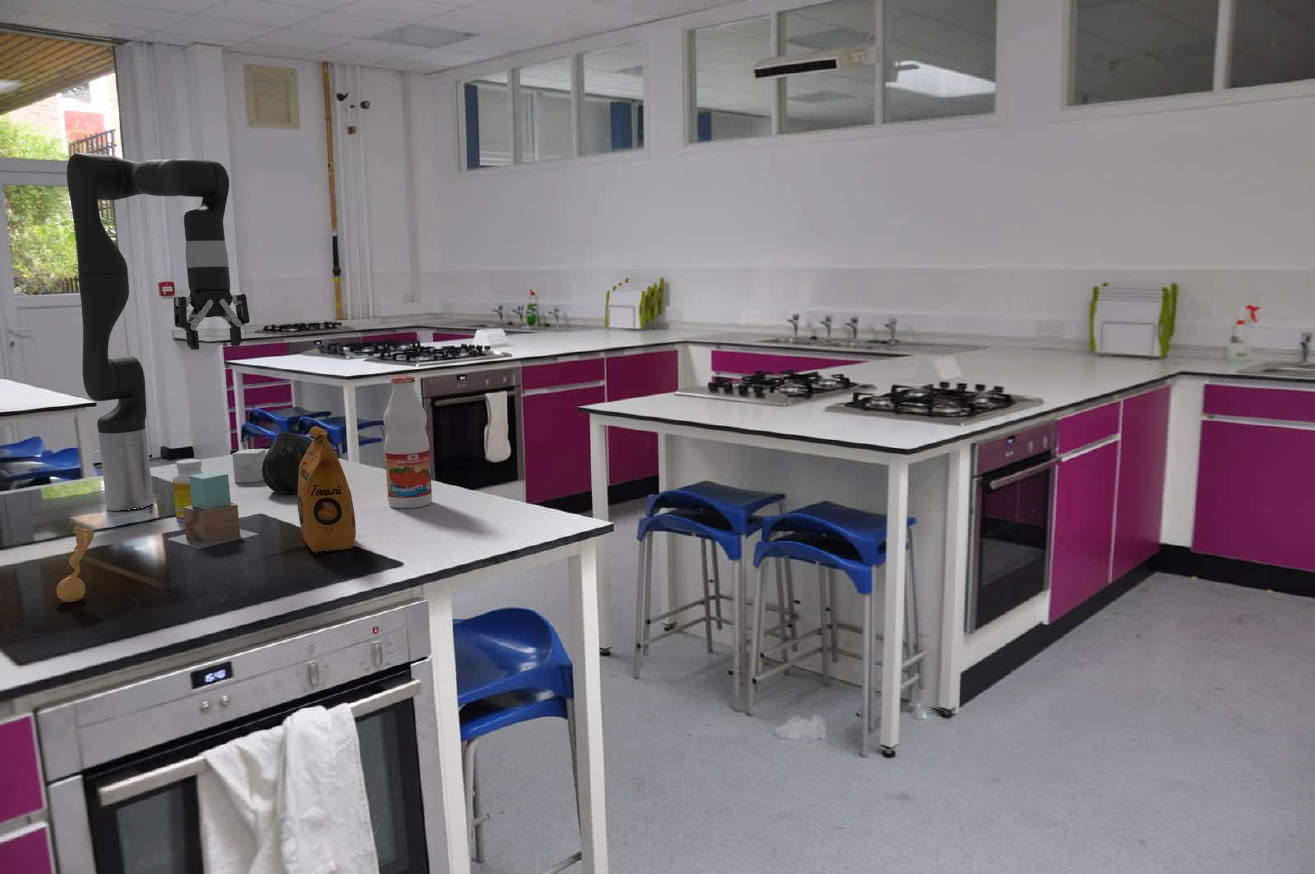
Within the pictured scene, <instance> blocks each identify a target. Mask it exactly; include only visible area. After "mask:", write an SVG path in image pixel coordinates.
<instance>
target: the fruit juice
mask: <svg viewBox="0 0 1315 874" xmlns="http://www.w3.org/2000/svg"><path fill="white" fill-rule="evenodd" d="M415 382H416V381H415V376H413V375H401V376H400V375H398V376H393V377H391V378H390V383H391V386H392V390H391V391H392V392H391V394H390V397H389V401H388V404H387V407H386V409H385V411H384V413H383V425H384V427H385V430H386V434H385V438H384V460H385V470H386V471H385V474H386V488H387V489H386V491H387V501H388V502H387V503H388V505H389V507H391V508H392V509H393V508H394V509H415V508H416V509H417V508H421V507H427V506H428V505H430V504H431V503H432V501H433V492H432V476H431V475H432V474H431V473H432V471H431V459H430V457H431V456H430V455H431V454H430V442H429V436H428V433H427V432H426V425H427V422H428V421H427V420H428V418H427V417H428V416H427V412H426V410H425V408H424V407H423V406H422V403H421V402H420V399H419V397H418V395H417V392H416V389H415V387H414V385H415Z"/></svg>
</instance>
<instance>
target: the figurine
mask: <svg viewBox="0 0 1315 874" xmlns="http://www.w3.org/2000/svg"><path fill="white" fill-rule="evenodd" d="M72 532H73V534H74V535H76V536H75V541H76V546H75V547H74V550H73V552H74V553H73V554H72V555H71V556H70V557H69V559H68V560H69V561H68V563H69V565H70V567H71V568H73V570H74V572H73V573H72V574H69V575H68V576H67V577H65V578H63V579H61V581H59V582H58V584H57V586H56V594H57V597H58V598H59V599H60V600H61V601H63V602H65V603H74V602H78V601H79V600H81V599H82V598H83V597H84V595H85V593H86V584H85V583H84V581H83V580H82V579H80V577H79V578H78V575H79V574H80V572H81V570H80V569H81V567H80V560H82V558H83V556H84V555H85V553H86V551H87V550H88V547H89V546H90V545H91V543H92V542H93V540H94V537H95V532H94V530H93V529H91V528H83V527H82V528H81V527H80V526H75V527H74V528H73V531H72Z"/></svg>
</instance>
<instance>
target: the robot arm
mask: <svg viewBox="0 0 1315 874" xmlns="http://www.w3.org/2000/svg"><path fill="white" fill-rule="evenodd" d="M66 183H67V189H68V196H69V201H70V206H71V212H72V218H73V224H74V225H73V226H74V230H75V239H76V240H75V242H76V252H77V253H76V254H77V274H78V285H79V286H78V287H79V288H78V289H79V293H80V304H81V316H82V382H83V385H84V386H83V387H84V389H85V391H86V394H87V396H88V397H89V398H90V399H91V400H92V401H94V402H105V401H114V400H117V401H118V402H117V405H116V406H115V407H114V408H113V409H112V410H111V411H109V412H108V413H106V414H104V415H103V416H101V417H99V418H98V419H97V422H96V425H97V432H98V433H97V434H98V442H99V449H100V450H99V451H100V458H101V466H102V467H101V468H102V475H103V476H102V477H103V485H104V494H105V501H106V504H105V505H106V510H108V511H111V512H121V511H120V510H128V509H134V508H142V507H146V506H148V505H150V504H152V503H155V501H154V494H153V483H152V473H151V465H150V455H149V446H148V439H147V438H148V437H147V429H146V428H147V426H146V418H147V414H148V413H147V400H146V398H147V397H146V396H147V395H146V379H145V372H144V369H143V366H142V364H141V362H140V360H139V359H138V358H136V356H133V355H117V356H109V344H110V343H109V341H110V337H111V333H112V331H113V328H114V326H115V324H116V323H117V321H118V319H119V317H120V316H121V315H122V313H123V311H124V309H125V307H126V305H127V302H128V301H129V296H130V285H129V282H130V281H129V273H128V272H129V271H128V270H129V269H128V265H127V261H126V259H125V257H124V255H123V254H122V253H121V251H120V249H119V248H118V246H117V245H116V244H115V242H114V240H113V239H112V238H111V236H110V235H109V234H108V232H107V230H106V229H105V227H104V225H103V223H102V219H101V214H100V210H99V201H118V200H123V199H126V198H131V197H134V196H139V195H148V196H155V197H178V196H179V197H193V198H194V197H195V198H196V197H197V198H202V199H201V204H200V206H199V208H196V209H191V210H189V211H186V212H185V214H184V215H183V226H184V238H185V262H186V272H187V274H186V275H187V282H188V284H187V285H188V290H189V296H182V295H176V296H174V297H173V315H174V317H173V318H174V326H175V327H176V328H179V329H182V330H184V331H185V336H186V345H187V347H188V348H189V350H191V351H198V350H199V349H200V341H199V340H200V339H199V331H198V330H196V329H197V328H198V327H199V324H200V323H201V322H202V321H203V320H204V318H213V317H216V318H221V319H223V320H225V321H226V323H227V324H228V325H229V326H230V327H229V329H228V330H229V340H230V341H229V342H230V345H231V347H240V344H242V341H243V339H242V329H241V328H242V326H244V325H245V324H249V323H250V314H249V313H250V312H249V307H248V300H247V295H246V294H245V293H235V294H232V293H231V291H230V290H231V280H230V277H231V276H230V268H229V265H230V264H229V256H228V255H229V253H228V248H227V245H226V236H225V227H224V226H225V225H224V217H225V212H226V207H227V201H228V195H229V192H230V191H229V190H230V177H229V173H228V172H227V170H226V168H225V167H224V165H222V163H220V162H219V161H216V160H208V159H207V160H206V159H195V158H171V159H148V160H144V161H142V162H137V161H133V160H129V159H125V158H122V157H117V156H115V155H112V154H102V153H101V154H99V153H87V152H76V153H74V154H72V155H70V157H69V159H68V161H67V165H66ZM231 304H233V305H234V306H235V311H234V310H233V308H231V307H230V306H231ZM189 305H191V307H192V309H191V311H190V313H189V315H188V312H187V311H188V309H187V308H188V307H189ZM235 312H236V313H235ZM146 508H147V507H146ZM142 509H143V508H142Z"/></svg>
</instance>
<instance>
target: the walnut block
mask: <svg viewBox="0 0 1315 874" xmlns="http://www.w3.org/2000/svg"><path fill="white" fill-rule="evenodd" d="M183 512H184V521H183V522H184V529H185V534H186V538H188V539H192V540H195V541H199V542H202V543H209V542H213V541H218V540H222V539H226V538H230V537H234V536H238V535H240V529H241V528H240V518H239V506H238V504H235V503H232V502H231V505H228V506H223V507H218V508H214V509H209V510H204V509H200V508H196V507H192V505H191V506H187V507H183Z"/></svg>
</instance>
